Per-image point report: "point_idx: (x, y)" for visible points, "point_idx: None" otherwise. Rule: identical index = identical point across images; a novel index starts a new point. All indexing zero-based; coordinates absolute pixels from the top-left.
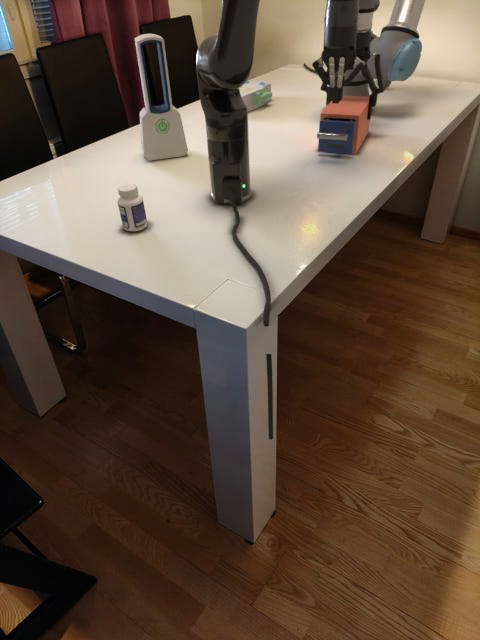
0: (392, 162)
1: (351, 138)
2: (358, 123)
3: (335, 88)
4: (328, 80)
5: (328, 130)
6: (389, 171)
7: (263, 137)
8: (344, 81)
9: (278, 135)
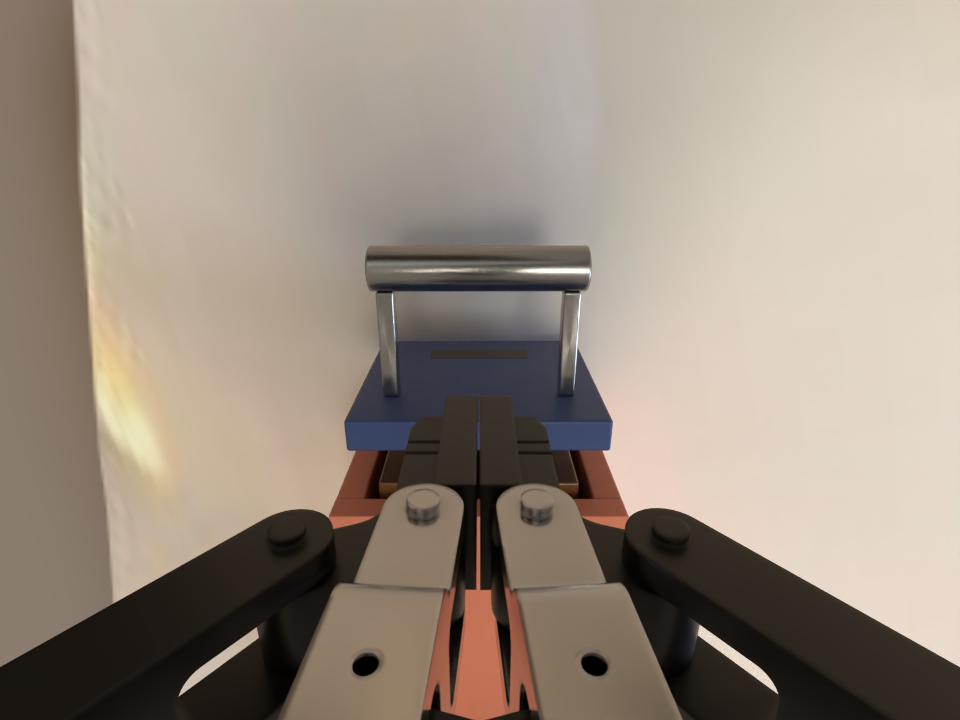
0: (166, 322)
1: (377, 376)
2: (344, 482)
3: (485, 482)
4: (628, 578)
5: (532, 391)
6: (132, 186)
7: (903, 516)
8: (342, 572)
9: (824, 555)
